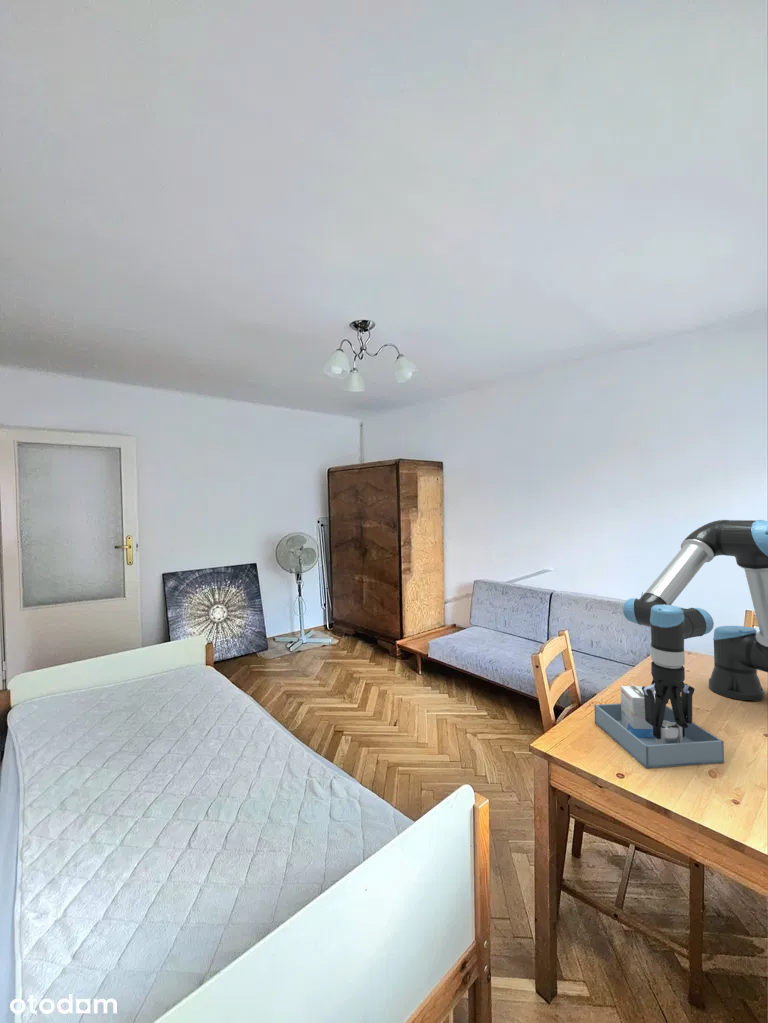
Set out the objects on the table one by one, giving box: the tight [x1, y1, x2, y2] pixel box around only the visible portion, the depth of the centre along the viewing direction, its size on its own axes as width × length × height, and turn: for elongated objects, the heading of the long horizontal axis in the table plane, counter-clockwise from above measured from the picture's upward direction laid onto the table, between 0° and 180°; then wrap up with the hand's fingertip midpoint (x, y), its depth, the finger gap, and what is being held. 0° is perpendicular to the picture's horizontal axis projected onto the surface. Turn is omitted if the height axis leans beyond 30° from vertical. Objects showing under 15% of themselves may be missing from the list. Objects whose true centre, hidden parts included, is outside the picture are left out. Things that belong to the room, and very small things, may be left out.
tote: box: [594, 702, 725, 769], centre depth 121 cm, size 21×23×6 cm
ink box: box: [620, 682, 656, 738], centre depth 125 cm, size 9×8×13 cm
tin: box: [662, 720, 679, 744], centre depth 115 cm, size 5×5×7 cm
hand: (669, 749), depth 115 cm, fingers closed on tin, 4 cm apart
